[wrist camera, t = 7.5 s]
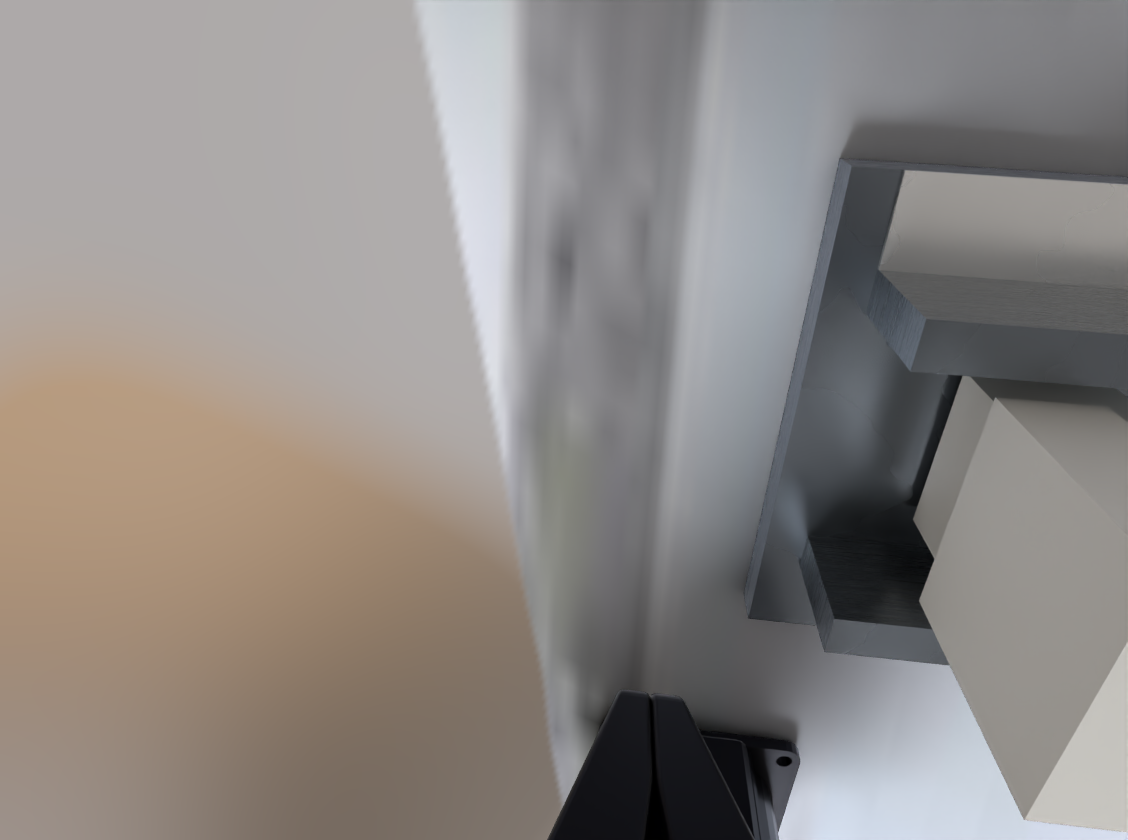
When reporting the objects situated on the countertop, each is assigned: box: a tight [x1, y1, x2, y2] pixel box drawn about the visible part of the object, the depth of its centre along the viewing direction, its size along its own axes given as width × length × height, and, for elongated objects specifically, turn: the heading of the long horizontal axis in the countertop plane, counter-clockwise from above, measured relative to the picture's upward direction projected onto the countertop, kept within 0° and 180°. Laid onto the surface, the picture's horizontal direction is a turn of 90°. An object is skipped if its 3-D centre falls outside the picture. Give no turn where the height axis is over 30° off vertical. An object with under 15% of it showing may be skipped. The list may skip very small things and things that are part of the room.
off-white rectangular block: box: [913, 376, 1128, 833], centre depth 13 cm, size 5×4×7 cm
